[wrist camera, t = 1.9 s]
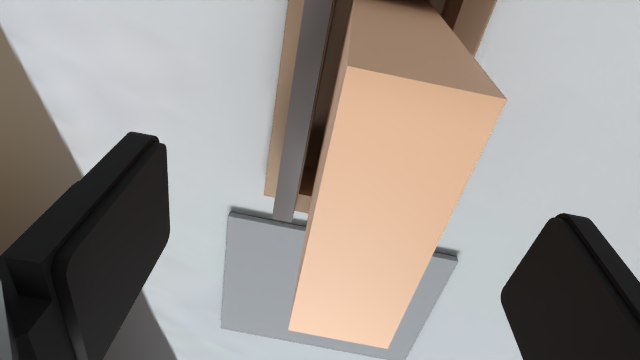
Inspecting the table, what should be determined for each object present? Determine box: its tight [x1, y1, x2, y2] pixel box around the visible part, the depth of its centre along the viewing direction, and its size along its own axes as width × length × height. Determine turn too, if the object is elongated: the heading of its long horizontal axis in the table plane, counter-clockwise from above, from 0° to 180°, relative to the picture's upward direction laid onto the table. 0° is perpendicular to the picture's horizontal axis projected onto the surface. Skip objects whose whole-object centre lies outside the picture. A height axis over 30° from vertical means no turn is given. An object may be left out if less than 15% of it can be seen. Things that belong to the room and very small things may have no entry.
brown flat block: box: [264, 0, 497, 223], centre depth 17 cm, size 8×14×4 cm, turn 170°
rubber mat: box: [221, 212, 458, 360], centre depth 27 cm, size 14×11×1 cm
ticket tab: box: [288, 0, 507, 349], centre depth 14 cm, size 3×8×10 cm, turn 170°
